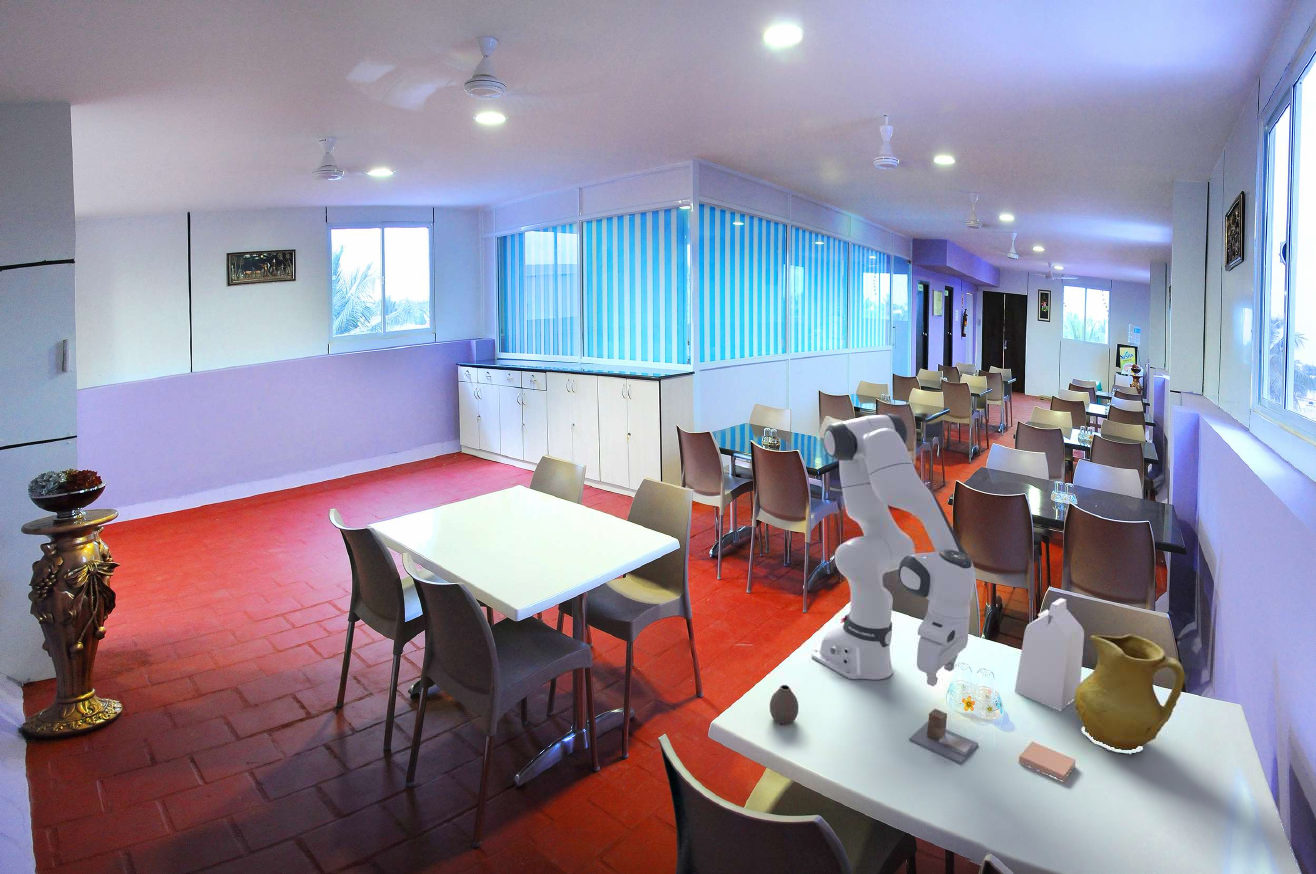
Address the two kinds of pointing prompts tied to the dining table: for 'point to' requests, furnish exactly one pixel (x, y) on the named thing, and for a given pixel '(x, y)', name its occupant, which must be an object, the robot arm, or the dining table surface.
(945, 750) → the pad
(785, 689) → the vase
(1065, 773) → the tile
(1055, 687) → the milk
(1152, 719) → the pitcher
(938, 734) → the brown block
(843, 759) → the dining table surface
